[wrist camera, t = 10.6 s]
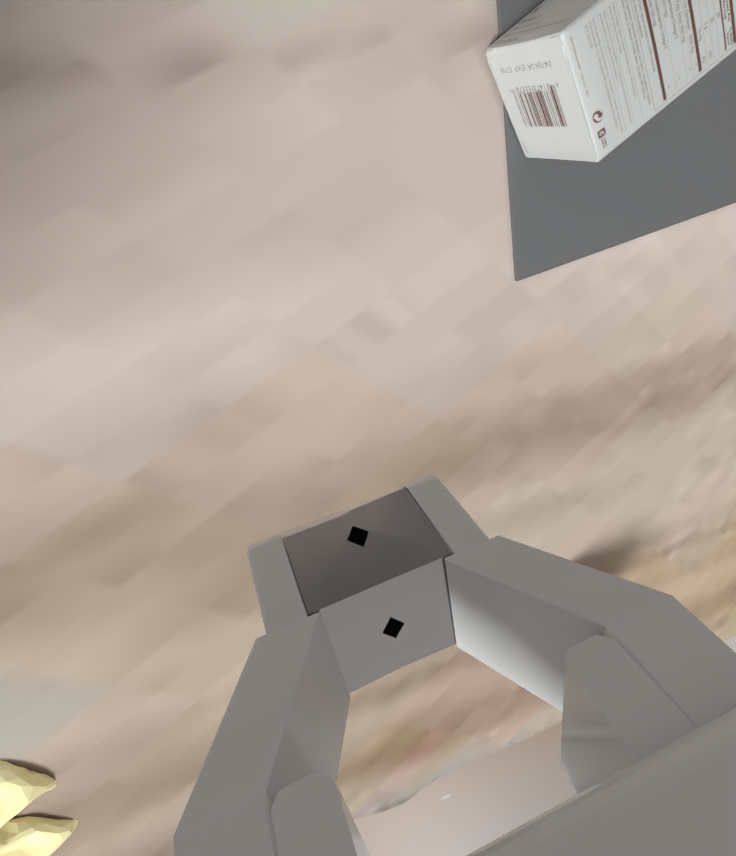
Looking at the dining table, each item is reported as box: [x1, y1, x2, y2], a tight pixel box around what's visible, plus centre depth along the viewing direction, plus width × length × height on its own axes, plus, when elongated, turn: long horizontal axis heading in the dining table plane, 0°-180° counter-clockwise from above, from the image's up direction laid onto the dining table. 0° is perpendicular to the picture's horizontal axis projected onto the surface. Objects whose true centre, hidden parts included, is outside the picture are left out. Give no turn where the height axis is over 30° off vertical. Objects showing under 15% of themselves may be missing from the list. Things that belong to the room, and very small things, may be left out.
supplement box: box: [486, 0, 736, 162], centre depth 31 cm, size 7×7×13 cm
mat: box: [497, 0, 736, 281], centre depth 38 cm, size 22×20×1 cm
